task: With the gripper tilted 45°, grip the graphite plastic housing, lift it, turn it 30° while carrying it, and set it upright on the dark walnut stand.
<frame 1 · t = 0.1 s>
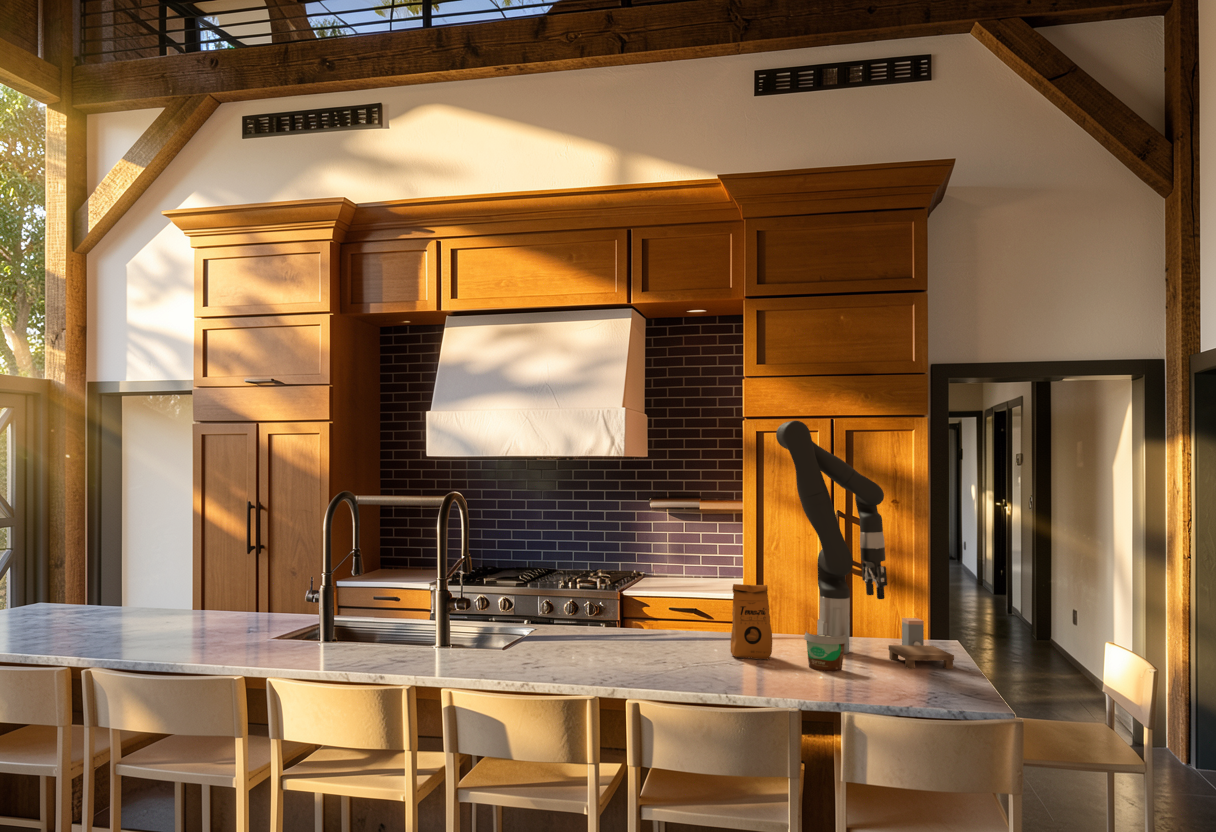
hand: (875, 597, 275), 17 cm above the countertop, tool pointing down, fingers open, 8 cm apart
coffee package: (751, 657, 261), on the countertop
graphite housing: (912, 650, 277), on the countertop
food container: (822, 670, 247), on the countertop
walnut stand: (920, 663, 258), on the countertop
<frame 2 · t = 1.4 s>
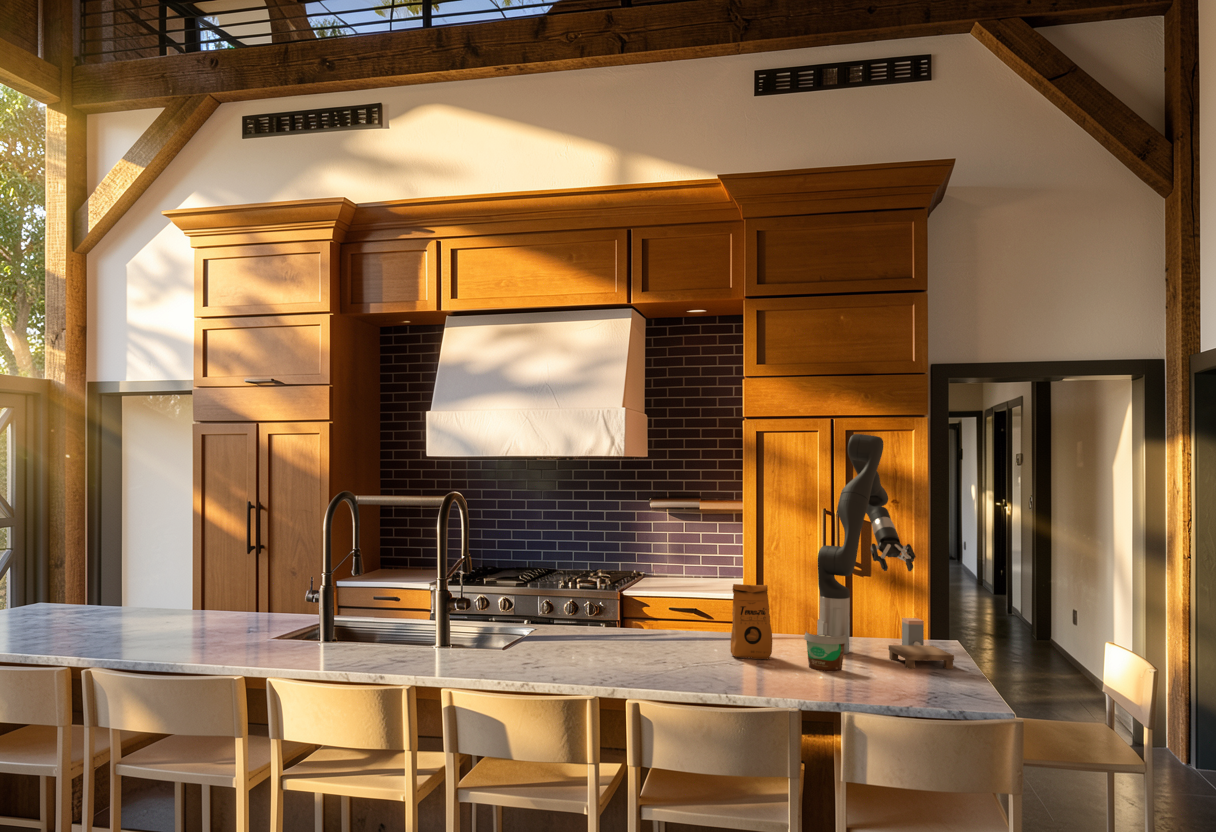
hand: (898, 569, 291), 25 cm above the countertop, tool tilted 45°, fingers open, 8 cm apart
nothing on the countertop moved.
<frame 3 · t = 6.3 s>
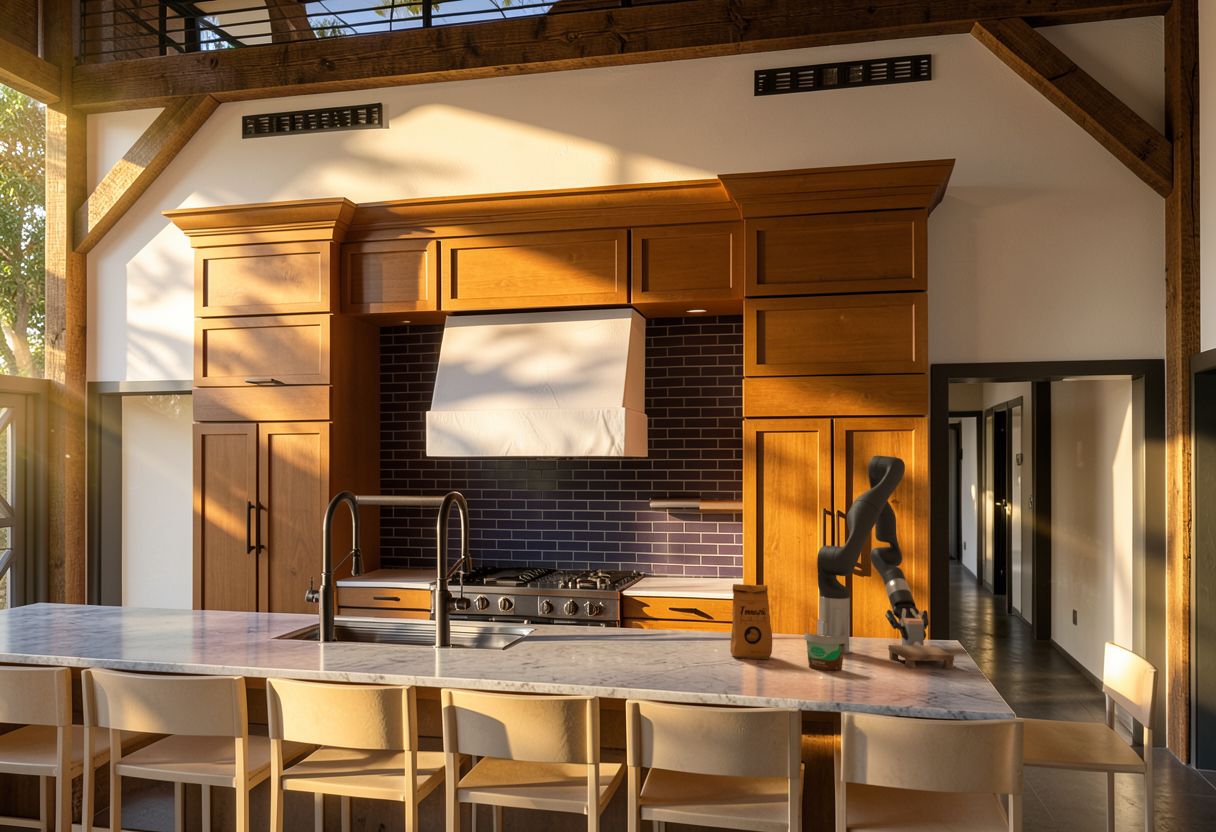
hand: (915, 638, 276), 4 cm above the countertop, tool tilted 45°, fingers closed on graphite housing, 5 cm apart
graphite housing: (912, 650, 277), on the countertop, touching gripper
everything else where it was.
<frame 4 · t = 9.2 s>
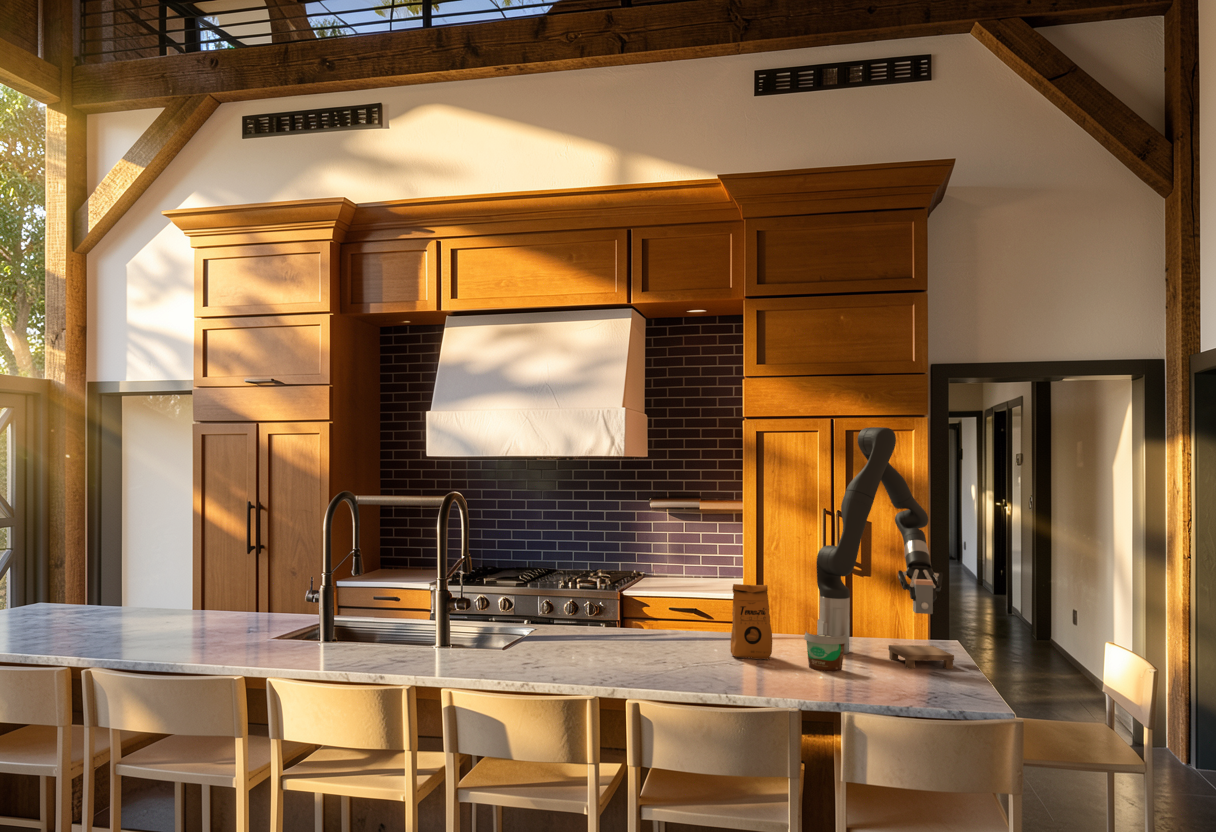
hand: (924, 599, 267), 18 cm above the countertop, tool tilted 45°, fingers closed on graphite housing, 5 cm apart
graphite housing: (922, 612, 268), point 14 cm above the countertop, touching gripper
everything else where it was.
when the fingers open (10 cm above the countertop, at t = 12.5 s): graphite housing drops 1 cm, resting on walnut stand.
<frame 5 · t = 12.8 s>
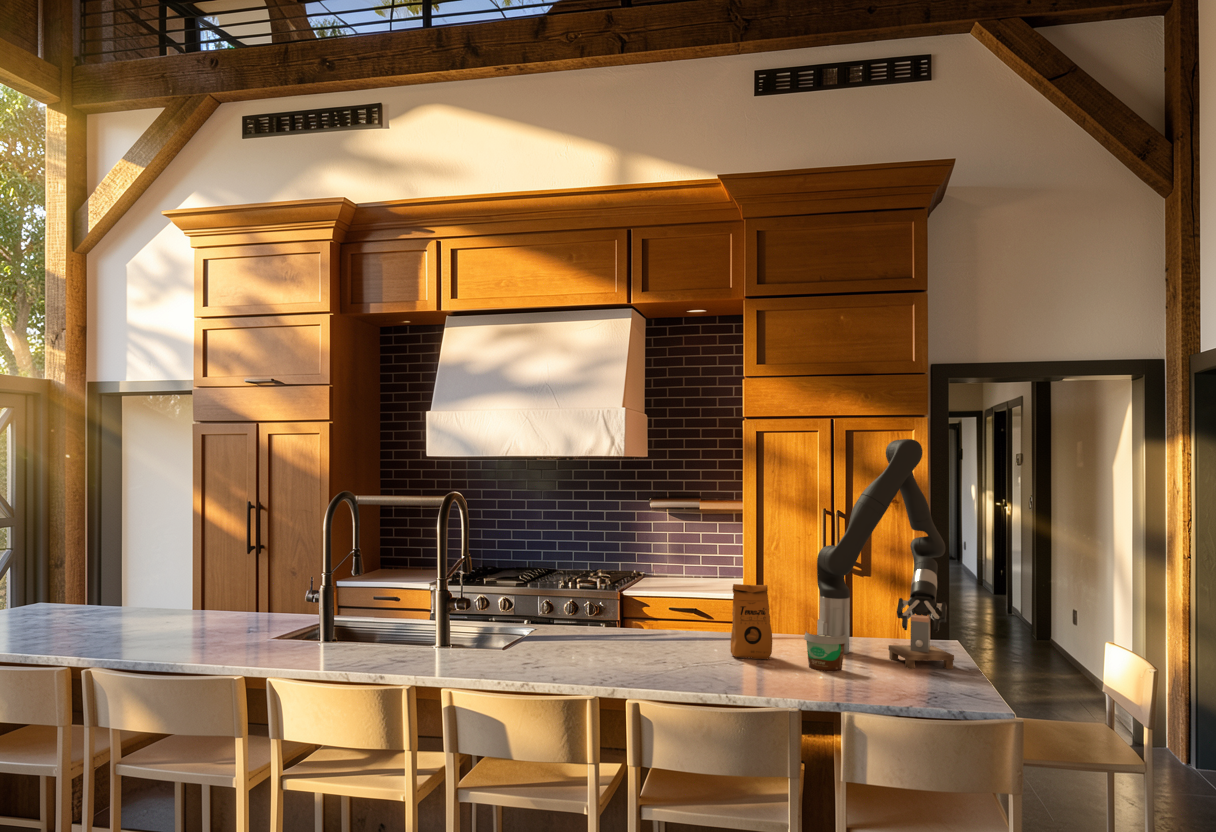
hand: (920, 630, 258), 10 cm above the countertop, tool tilted 45°, fingers open, 8 cm apart
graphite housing: (920, 650, 258), point 4 cm above the countertop, touching walnut stand
everything else where it was.
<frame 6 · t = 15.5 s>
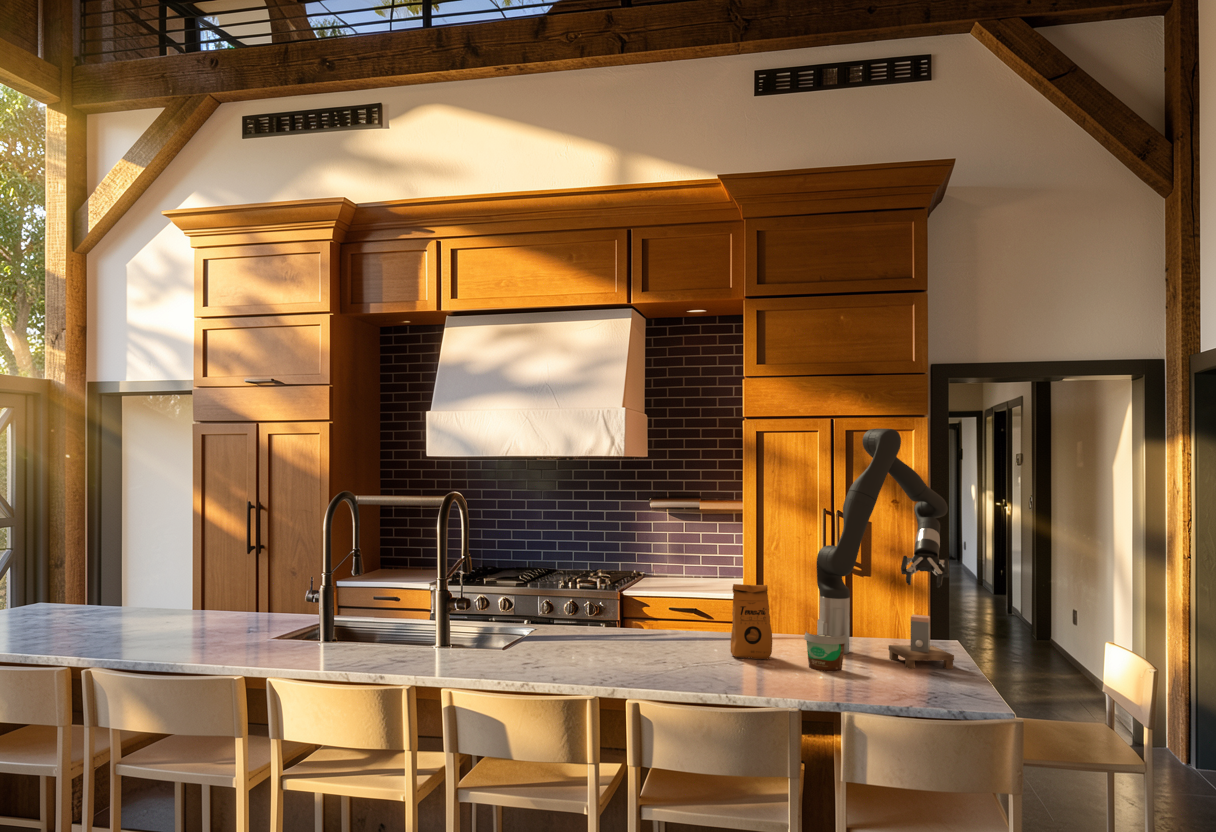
hand: (923, 584, 269), 22 cm above the countertop, tool tilted 45°, fingers open, 8 cm apart
nothing on the countertop moved.
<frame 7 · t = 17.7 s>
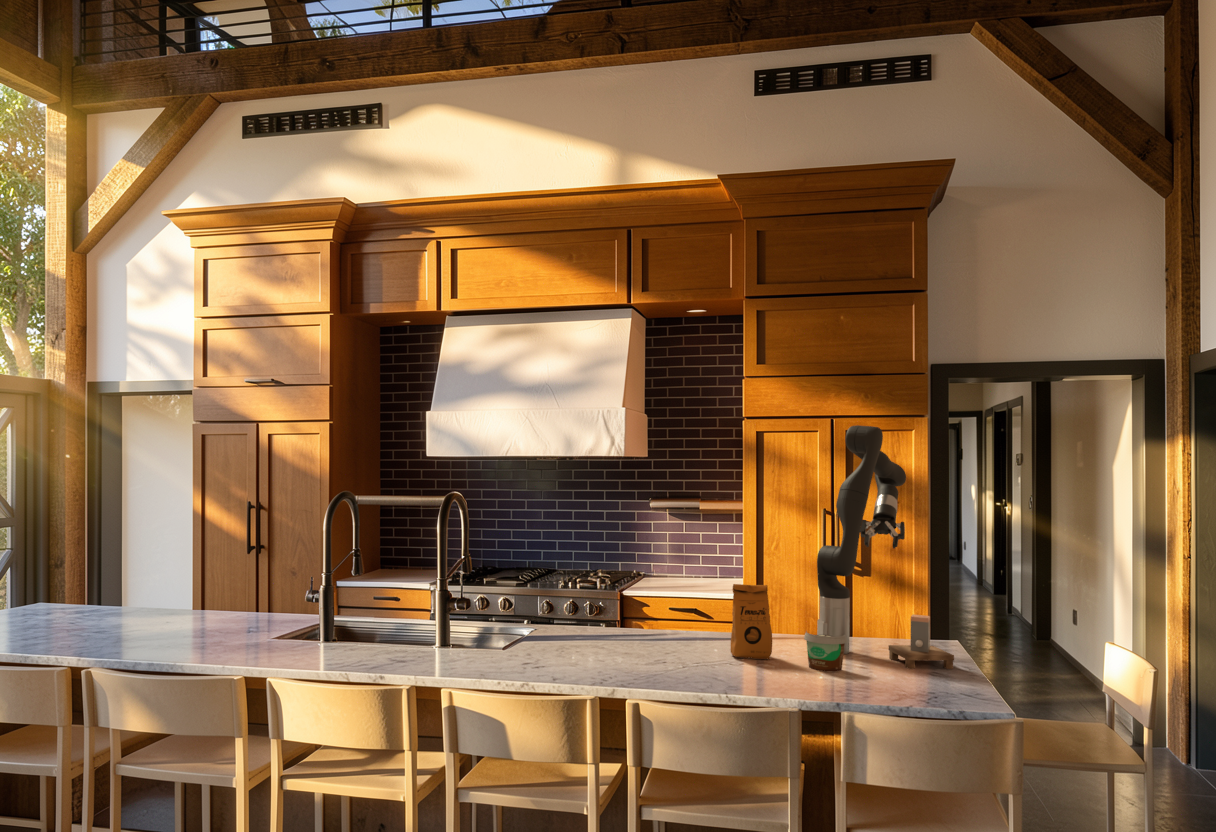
hand: (880, 546, 287), 33 cm above the countertop, tool tilted 45°, fingers open, 8 cm apart
nothing on the countertop moved.
at the end: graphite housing inside the target area on the walnut stand (0.1 cm from its centre), point 4.0 cm above the walnut stand's base; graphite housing tilted 0°; the gripper is holding nothing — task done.
